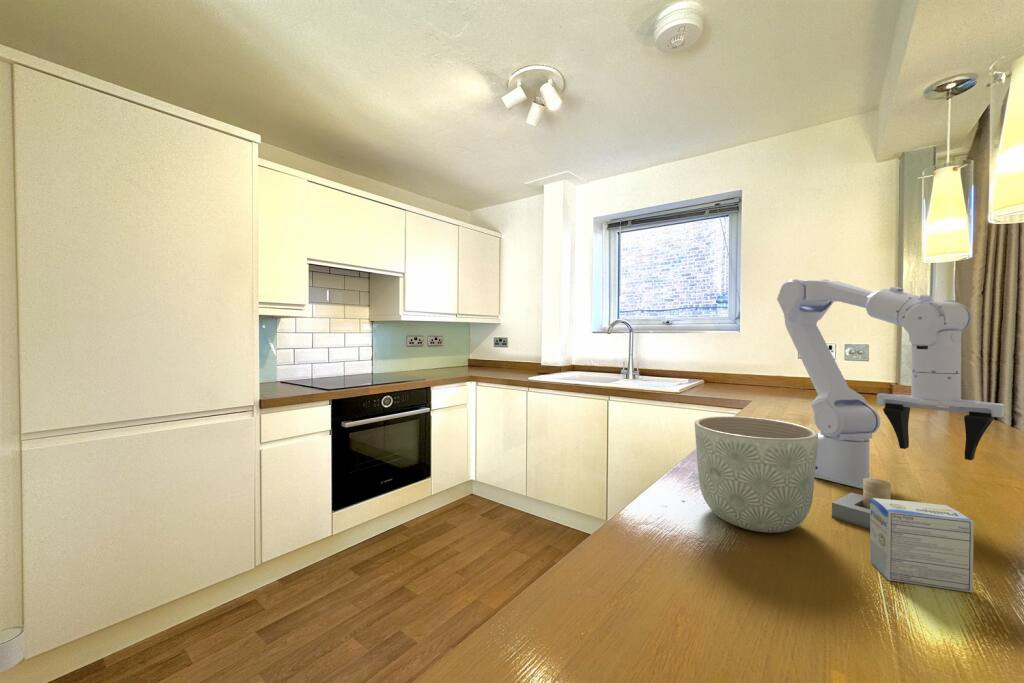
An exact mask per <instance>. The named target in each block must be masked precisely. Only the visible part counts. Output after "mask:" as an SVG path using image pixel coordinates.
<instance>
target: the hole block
mask: <svg viewBox="0 0 1024 683" xmlns="http://www.w3.org/2000/svg"><path fill="white" fill-rule="evenodd" d="M833 517H834V519H835V520H836V519H837V520H840V521H843V522H847V523H850V524H853V525H856V526H860V527H863V528H866V529H869V530H870V509H867V508H863V494H858V493H855V492H849V493H848V494H846V495H844V496H841V497H840V498H838V499H836V500H834V501H831V518H833Z"/></svg>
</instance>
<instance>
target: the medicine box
mask: <svg viewBox="0 0 1024 683" xmlns="http://www.w3.org/2000/svg"><path fill="white" fill-rule="evenodd" d="M974 526H975V522H974V521H973V520H972V519H970V518H969V517H968V516H966V515H965V514H963V513H961V512H960V511H958V510H956V509H954V508H952V507H950V506H949V505H946V504H938V503H928V502H920V501H909V500H898V499H891V500H890V499H878V498H872V499H870V529H869V531H870V532H869V535H870V540H869V542H870V543H869V545H870V546H869V547H870V552H869V553H870V555H869V556H870V558H869V559H870V562H871V563H872V565H873V566H874V567H875V569H877V571H879V572H880V573H881V575H882V576H883V577H884V578H885V579H886V580H887V581H891V582H898V583H905V584H911V585H918V586H924V587H925V586H926V587H932V588H939V589H946V590H951V591H960V592H966V593H974V528H975V527H974Z"/></svg>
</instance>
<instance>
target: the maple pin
mask: <svg viewBox="0 0 1024 683" xmlns="http://www.w3.org/2000/svg"><path fill="white" fill-rule="evenodd" d="M873 478H874V477H870V478H865V479H863V489H862V491H863V494H862V495H863V508H867V509H870V499H872V498H878V499H890V500H892V499H891V497H892V496H891V493H892V492H891V483H890V482H888V481H887V480H886V481H885V480H883V479H878V478H874V479H873Z"/></svg>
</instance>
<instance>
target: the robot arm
mask: <svg viewBox="0 0 1024 683" xmlns="http://www.w3.org/2000/svg"><path fill="white" fill-rule="evenodd" d="M779 289H780V290H779V293H778V295H777V298H776V300H777V302H778V304H779V306H780V309H781V311H782V313H783V318H784V324H785V328H786V330H787V332H788V334H789V336H790V339H791V341H792V343H793V345H794V347H795V349H796V351H797V353H798V356H799V358H800V359H801V362H802V364H803V366H804V368H805V370H806V372H807V374H808V376H809V379H810V381H811V383H812V385H813V387H814V389H815V392H816V393H817V396H816V397H815V398H814V399H813V400H812V402H811V404H810V406H811V408H812V410H813V420H814V425H815V426H816V428H817V430H818V431H819V432H817V433H818V446H817V457H816V468H815V479H821V480H823V481H824V480H826V481H828V482H829V481H830V482H834V483H836V484H841V485H846V486H848V487H849V486H850V487H852V488H853V487H854V488H857V489H860V490H861V489H862V490H863V479H865V478H871V477H870V439H871V440H872V439H873V434H874V433H876V432H877V431H879V428H880V425H881V418H880V416H879V414H878V411H877V410H876V409H875V408H874V407H872V406H871V405H870V404H869V403H868V402H867V400H866V399H865V397H864V396H863V395H861V394H860V393H858V392H856V391H855V390H853V389H852V388H850V387H849V386H848V384H847V381H846V379H845V378H844V374H842V372H841V368H839V365H838V364H837V362H836V360H835V358H834V356H833V354H832V352H831V349H830V348H829V347H828V345H827V342H826V341H825V339H824V337H823V335H822V333H821V331H820V329H819V327H818V325H817V323H818V321H820V320H822V318H823V317H824V315H825V314H826V313H827V311H829V309H830V308H831V307H832V305H833V303H836V302H841V303H843V304H848V305H851V306H856V307H860V308H864V309H866V314H868V316H869V317H871V318H875V319H876V320H877V319H878V320H881V321H883V322H887V323H889V324H893V325H896V326H898V327H899V326H900V327H902V328H903V329H904V330H905V331H906V332H907V334H908V338H909V341H908V342H909V343H911V378H910V379H911V387H910V388H911V393H910V394H895V393H877V394H876V405H877V406H884V407H883V408H882V409H883V410H882V411H883V413H884V415H885V416H886V418H887V419H888V421H889V422H890V424H891V426H892V428H893V430H894V433H895V436H896V438H897V442H898V447H899V449H903V450H906V449H908V448H909V446H910V438H909V437H910V436H909V435H910V434H909V423H910V422H909V420H910V412H911V409H913V408H915V409H923V410H931V411H932V410H933V411H941V412H951V413H961V414H966V415H964V418H963V420H964V429H965V430H964V431H965V446H964V460H966V461H967V460H968V461H972V460H974V459H975V454H976V451H977V447H978V446H979V443H980V441H981V439H982V437H983V435H984V433H986V430H987V429H988V427H989V426H990V425H991V423H993V421H994V420H995V418H1004V417H1005V403H996V402H988V401H980V400H979V401H978V400H971V399H970V400H969V399H962V332H964V331H965V330H967V329H968V328H969V327H970V325H971V322H972V313H971V311H970V308H968V307H967V306H966V305H964V304H963V303H960V302H957V301H956V300H953V299H952V300H951V299H950V300H942V301H939V300H937V301H936V300H934V299H933V296H932V295H928V294H921V295H917V294H912V293H908V292H904V290H905V289H904V288H903V287H898V286H891V287H890V288H882V289H879V290H877V291H872V290H870V289H869V290H868V289H866V288H862V287H858V286H855V285H852V284H848V283H846V282H845V283H844V282H841V281H839V280H838V281H837V280H829V279H821V280H820V279H819V280H816V279H815V280H814V279H798V278H791V279H787V280H786V281H785V282H783V284H782V285H781V287H780V288H779ZM942 406H943V407H942ZM872 478H873V479H875V478H874V477H872Z"/></svg>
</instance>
